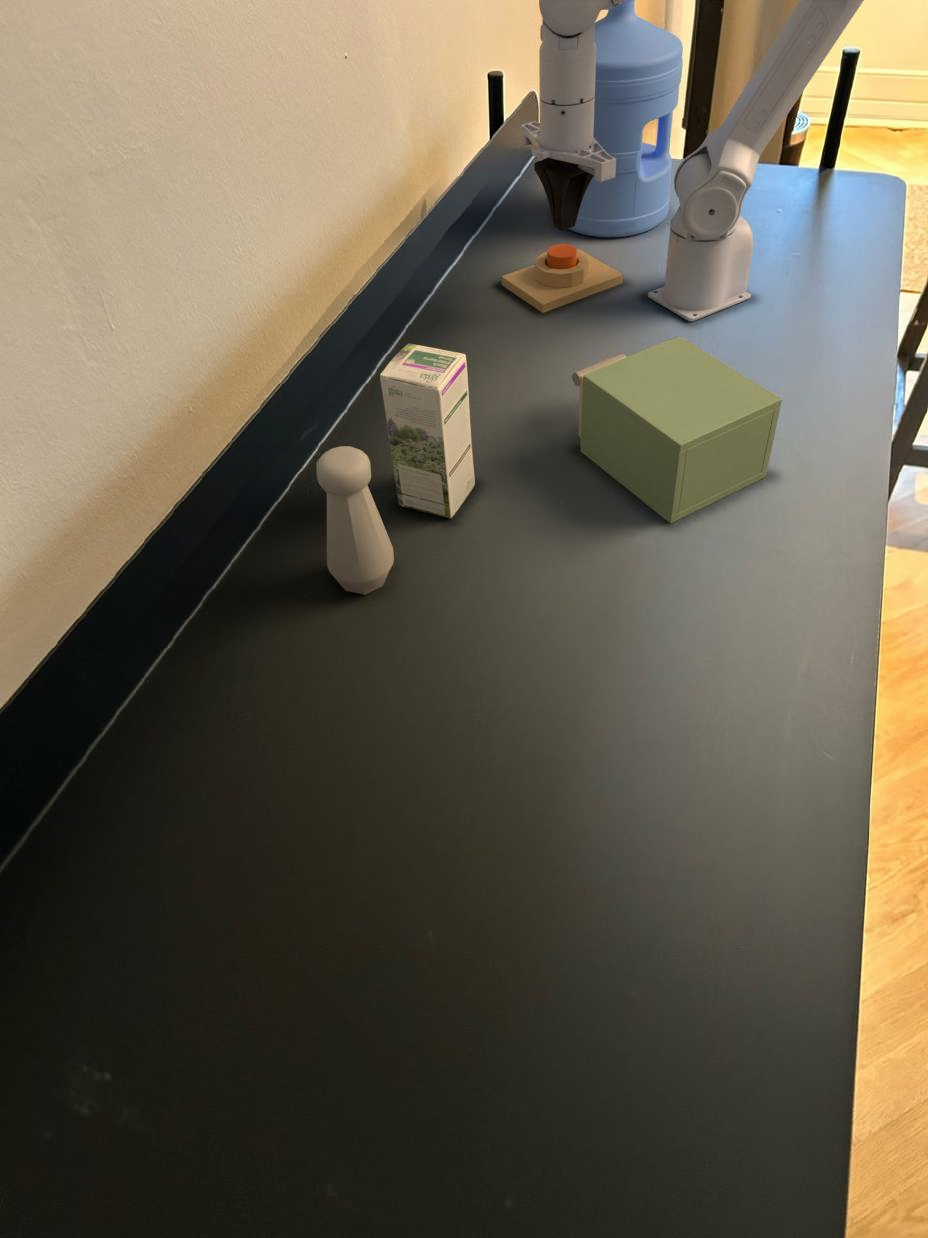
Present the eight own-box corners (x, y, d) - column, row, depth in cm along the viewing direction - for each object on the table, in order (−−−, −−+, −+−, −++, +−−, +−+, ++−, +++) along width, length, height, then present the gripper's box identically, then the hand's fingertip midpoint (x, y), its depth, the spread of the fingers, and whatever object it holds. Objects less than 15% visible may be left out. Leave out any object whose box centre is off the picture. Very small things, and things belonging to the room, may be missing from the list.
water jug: (558, 243, 126) (561, -2, 106) (550, 195, 137) (551, -36, 117) (677, 236, 125) (702, -13, 105) (659, 188, 136) (679, -45, 116)
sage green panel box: (580, 451, 94) (582, 374, 88) (671, 411, 98) (679, 335, 92) (670, 523, 86) (680, 445, 80) (766, 476, 90) (782, 398, 83)
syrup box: (477, 484, 91) (468, 349, 81) (450, 522, 88) (438, 385, 77) (424, 472, 93) (409, 338, 83) (396, 508, 90) (376, 373, 79)
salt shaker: (401, 556, 85) (384, 435, 75) (392, 602, 81) (372, 480, 72) (337, 555, 85) (312, 435, 76) (324, 600, 81) (297, 479, 72)
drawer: (553, 416, 97) (554, 356, 92) (633, 382, 100) (638, 323, 96) (659, 500, 87) (666, 438, 82) (745, 459, 90) (757, 397, 85)
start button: (565, 254, 118) (565, 241, 117) (582, 265, 116) (583, 251, 115) (541, 263, 117) (541, 249, 116) (558, 273, 115) (558, 260, 113)
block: (578, 257, 123) (579, 234, 121) (622, 283, 117) (624, 260, 115) (501, 285, 119) (500, 261, 117) (542, 313, 113) (542, 289, 111)
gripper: (495, 87, 101) (499, 215, 111) (578, 124, 93) (575, 259, 102) (549, 72, 104) (548, 198, 114) (635, 107, 95) (626, 240, 105)
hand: (564, 226), depth 108 cm, fingers closed
